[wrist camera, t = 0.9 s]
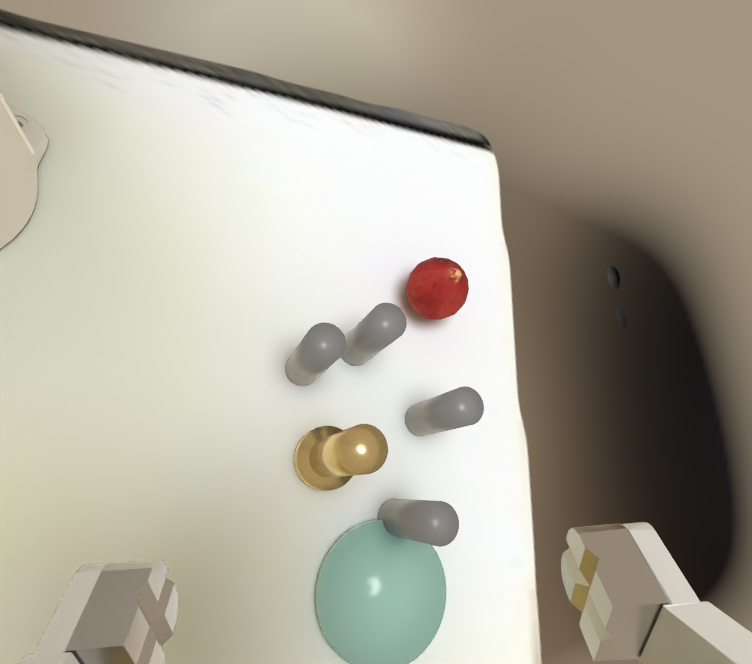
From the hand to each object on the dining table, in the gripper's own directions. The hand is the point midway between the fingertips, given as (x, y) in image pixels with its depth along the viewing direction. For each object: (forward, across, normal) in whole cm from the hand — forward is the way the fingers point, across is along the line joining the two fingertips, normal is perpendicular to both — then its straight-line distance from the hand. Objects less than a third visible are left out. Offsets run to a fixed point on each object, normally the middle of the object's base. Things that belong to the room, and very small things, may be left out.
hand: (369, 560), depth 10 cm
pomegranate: (+38, -6, +15) cm, 42 cm away
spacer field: (+28, 0, +21) cm, 35 cm away
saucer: (+18, 0, +30) cm, 35 cm away
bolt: (+25, +4, +22) cm, 33 cm away
